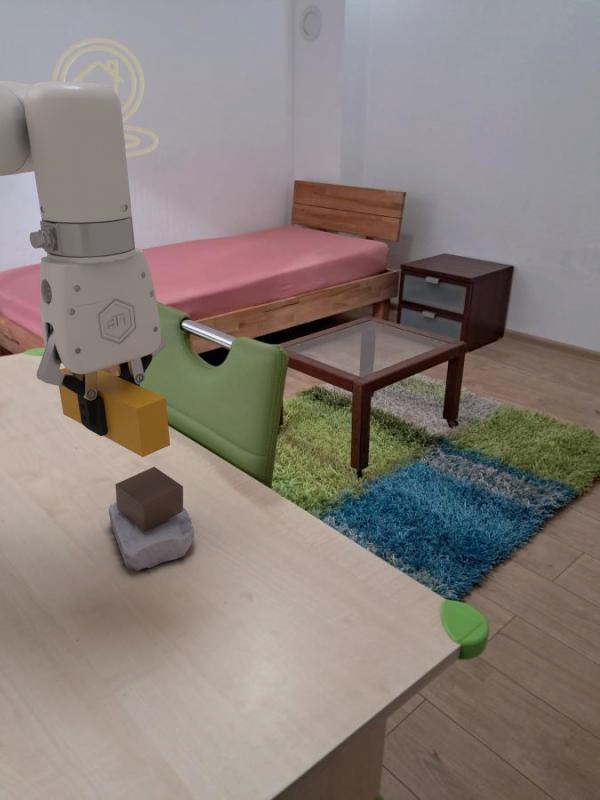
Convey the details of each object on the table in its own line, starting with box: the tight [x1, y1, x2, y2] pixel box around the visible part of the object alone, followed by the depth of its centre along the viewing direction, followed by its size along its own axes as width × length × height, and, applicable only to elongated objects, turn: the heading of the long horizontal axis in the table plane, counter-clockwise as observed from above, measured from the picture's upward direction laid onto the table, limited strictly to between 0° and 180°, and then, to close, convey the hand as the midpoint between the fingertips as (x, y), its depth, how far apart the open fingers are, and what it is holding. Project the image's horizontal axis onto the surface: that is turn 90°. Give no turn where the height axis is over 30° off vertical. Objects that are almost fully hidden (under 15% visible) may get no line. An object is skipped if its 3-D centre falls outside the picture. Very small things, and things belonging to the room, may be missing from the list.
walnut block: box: [114, 466, 184, 531], centre depth 81 cm, size 6×6×4 cm
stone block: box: [108, 501, 195, 572], centre depth 83 cm, size 12×5×10 cm
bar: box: [58, 367, 171, 458], centre depth 63 cm, size 3×14×5 cm, turn 49°
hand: (113, 422), depth 63 cm, fingers closed on bar, 3 cm apart
